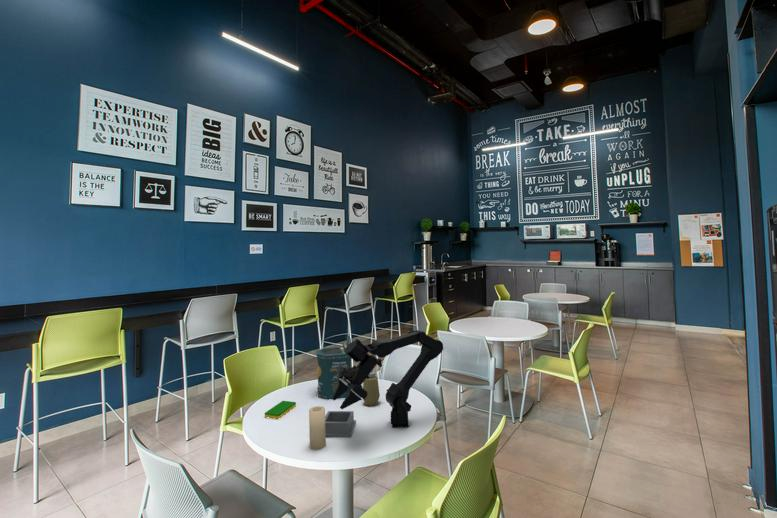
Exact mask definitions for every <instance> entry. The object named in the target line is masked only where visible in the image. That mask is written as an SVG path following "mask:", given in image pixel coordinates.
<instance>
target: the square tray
mask: <svg viewBox="0 0 777 518" xmlns="http://www.w3.org/2000/svg"><path fill="white" fill-rule="evenodd" d="M354 417H355V415H354V410H349V411H348V410H328V411H327V412H326V413H325V434H326V438H352V436H353V433H354V429H355V427H356V425H357V420H356V419H355V418H354ZM354 419H355V420H354Z"/></svg>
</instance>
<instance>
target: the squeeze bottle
mask: <svg viewBox="0 0 777 518" xmlns="http://www.w3.org/2000/svg"><path fill="white" fill-rule="evenodd" d="M368 376H369V377H370V378H369V379H367V378H366V379H365V381H364V382H363V383H362V386H363V387H362V388H363V389H364V390H366V391H367V394H368V396H367V397H366V398H365V400H364V399H362V400H363V402H364V405H365V406H370V407H371V406H372V407H374V406H376V405H378V403H379V399H380V396H381V395H380V386H379V380H378V379H379V378H378V376H377V375H376V371H374V369H373V370H372V371H371V373H370V374H369V375H368Z"/></svg>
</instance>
